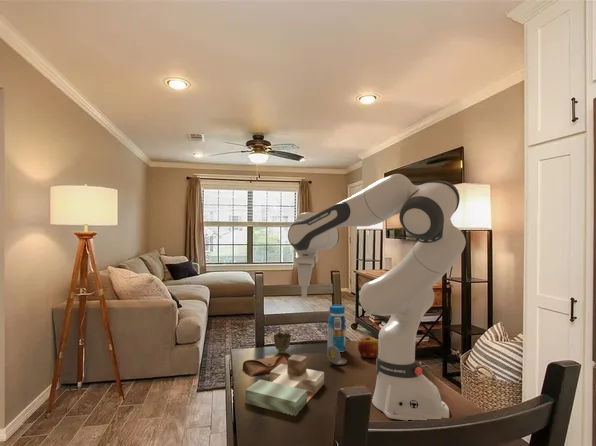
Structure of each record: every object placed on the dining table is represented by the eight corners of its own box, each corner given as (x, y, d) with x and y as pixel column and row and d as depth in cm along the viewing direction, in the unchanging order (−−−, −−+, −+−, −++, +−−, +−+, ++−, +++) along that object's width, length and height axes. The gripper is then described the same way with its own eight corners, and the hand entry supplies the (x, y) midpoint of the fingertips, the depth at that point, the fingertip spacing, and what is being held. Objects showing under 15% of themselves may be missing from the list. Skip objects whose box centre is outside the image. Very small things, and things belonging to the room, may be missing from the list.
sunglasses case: (249, 377, 125) (246, 358, 128) (243, 380, 130) (241, 362, 133) (294, 369, 133) (290, 351, 136) (287, 373, 138) (284, 356, 141)
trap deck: (323, 383, 121) (324, 372, 121) (295, 416, 99) (295, 402, 99) (280, 374, 128) (281, 363, 128) (245, 402, 106) (245, 389, 106)
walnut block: (306, 371, 122) (306, 356, 122) (300, 376, 117) (300, 361, 118) (293, 368, 124) (293, 354, 124) (287, 373, 119) (287, 358, 120)
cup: (292, 351, 154) (292, 333, 154) (288, 356, 147) (288, 337, 147) (276, 349, 155) (276, 331, 156) (271, 355, 148) (271, 336, 148)
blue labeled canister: (323, 350, 156) (324, 305, 156) (333, 345, 162) (334, 303, 163) (338, 354, 150) (339, 308, 151) (349, 350, 157) (350, 305, 157)
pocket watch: (347, 360, 144) (347, 336, 144) (346, 368, 136) (346, 342, 136) (327, 358, 146) (327, 334, 146) (325, 366, 137) (326, 340, 138)
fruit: (353, 356, 149) (353, 337, 149) (364, 351, 156) (364, 333, 156) (373, 362, 143) (373, 342, 143) (383, 356, 150) (384, 338, 150)
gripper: (298, 254, 136) (297, 289, 136) (295, 258, 116) (294, 300, 115) (314, 255, 136) (313, 290, 135) (314, 259, 115) (313, 301, 115)
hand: (304, 295), depth 125 cm, fingers open, 8 cm apart
